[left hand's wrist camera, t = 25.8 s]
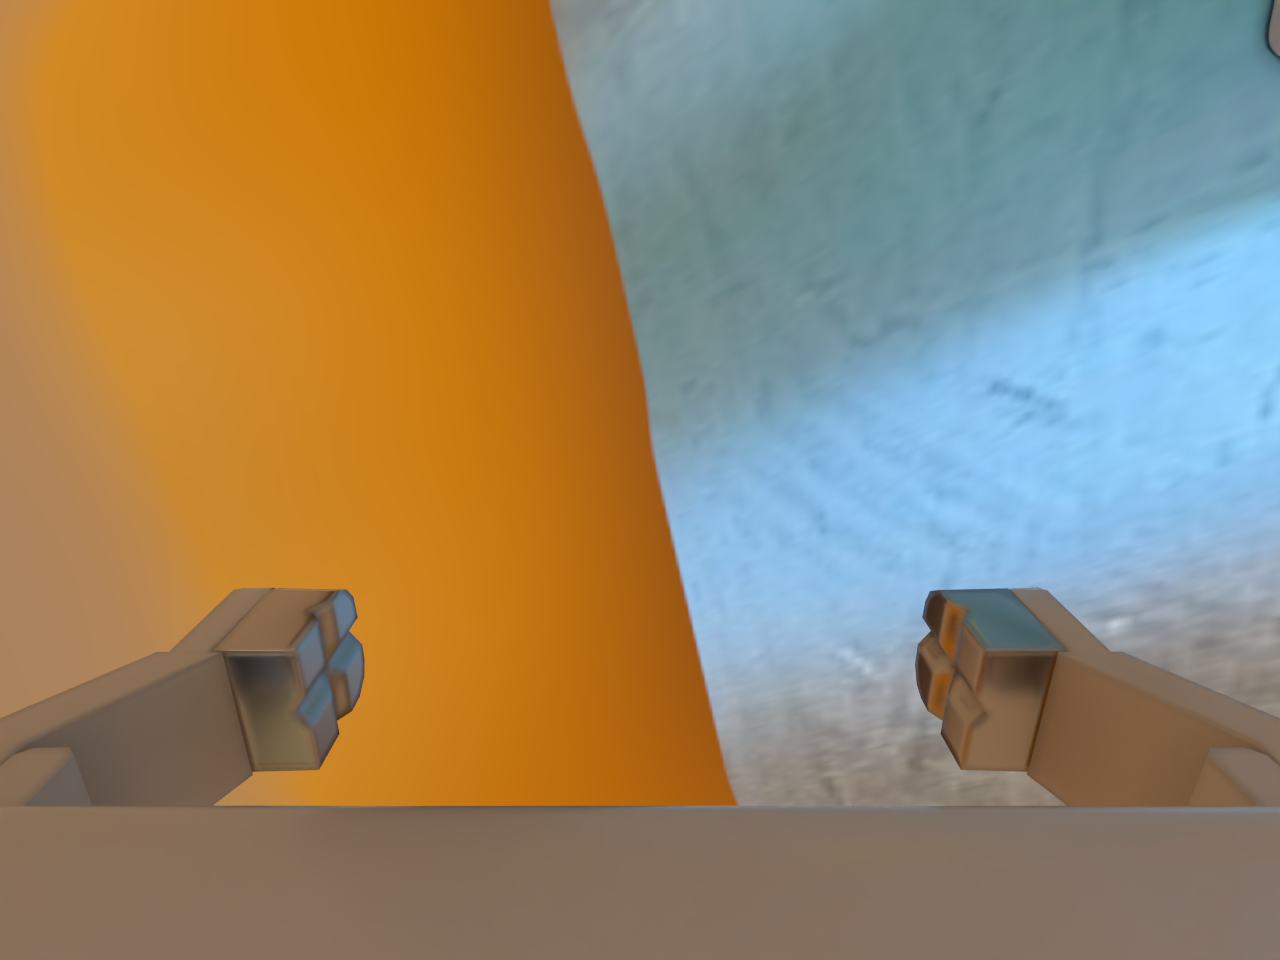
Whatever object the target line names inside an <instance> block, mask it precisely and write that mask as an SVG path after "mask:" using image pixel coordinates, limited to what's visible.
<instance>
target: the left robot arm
mask: <svg viewBox="0 0 1280 960" xmlns="http://www.w3.org/2000/svg"><path fill="white" fill-rule="evenodd" d="M1268 36H1269V43H1270V46H1271V48H1272V50H1273V51H1274V52H1275V53H1276V54H1277V55H1278V56H1279V57H1280V0H1275V1H1274V6H1273V11H1272V16H1271V21H1270V26H1269V34H1268ZM356 619H357V612H356V607H355V603H354V598H353V596H352V595H351V594H350V593H349V591H348V590H340V589H287V588H278V589H275V588H242V589H235V590H233V591H232V592H231V593H230V594H229V595H228V596H227V597H226V598H225V599H224V600H223V601H222V602H221V603H219V604H218V605H217V606H216V607H215V608H214V609H213V610H212V611H211V612H210V613H209V614H208V615H207V616H206V617H205V618H204V619H203V620H202V621H201V622H200V623H199V624H198V625H197V626H196V627H194V628H193V629H192V630H191V631H190V632H189V633H188V634H187V635H186V636H185V637H184V638H183V639H182V640H181V641H180V642H179V643H178V644H177V645H176V646H175V647H174V648H173V649H172V650H171V651H169V652H156V653H154V654H151V655H149V656H146V657H144V658H142V659H139V660H137V661H135V662H132V663H130V664H128V665H125V666H123V667H120V668H118V669H116V670H113V671H111V672H109V673H106V674H104V675H102V676H99V677H97V678H95V679H92V680H90V681H87V682H85V683H83V684H80V685H78V686H76V687H73V688H71V689H69V690H66V691H64V692H61V693H59V694H57V695H54V696H52V697H50V698H47V699H45V700H43V701H40V702H38V703H35V704H33V705H31V706H28V707H26V708H24V709H21V710H19V711H17V712H14V713H12V714H10V715H7V716H5V717H2V718H0V960H1280V718H1277V717H1275V716H1273V715H1270V714H1268V713H1265V712H1263V711H1261V710H1258V709H1256V708H1254V707H1251V706H1249V705H1247V704H1244V703H1242V702H1240V701H1237V700H1235V699H1232V698H1230V697H1228V696H1225V695H1223V694H1221V693H1218V692H1216V691H1214V690H1211V689H1209V688H1207V687H1204V686H1202V685H1199V684H1197V683H1195V682H1192V681H1190V680H1188V679H1185V678H1183V677H1181V676H1178V675H1176V674H1174V673H1171V672H1169V671H1166V670H1164V669H1162V668H1159V667H1157V666H1155V665H1152V664H1150V663H1148V662H1145V661H1143V660H1141V659H1138V658H1136V657H1134V656H1131V655H1129V654H1126V653H1124V652H1111V651H1110V650H1108V649H1107V648H1106V647H1105V646H1104V645H1103V644H1102V643H1101V642H1100V641H1099V640H1098V639H1097V638H1096V637H1095V636H1094V635H1093V634H1092V633H1091V632H1090V631H1089V630H1088V629H1087V628H1086V627H1085V626H1084V625H1083V624H1081V623H1080V622H1079V621H1078V620H1077V619H1076V618H1075V617H1074V616H1073V615H1072V614H1071V613H1070V612H1069V611H1068V610H1067V609H1066V608H1065V607H1064V606H1063V605H1062V604H1061V603H1060V602H1059V601H1058V600H1057V599H1056V598H1054V597H1053V596H1052V595H1051V594H1050V593H1049V592H1048V591H1047V590H1044V589H1041V588H1038V587H1036V588H1012V589H1008V588H1005V589H964V590H936V591H930V593H929V595H928V597H927V599H926V601H925V606H924V611H923V619H924V621H925V622H926V624H927V625H928V627H929V628H930V630H931V631H930V633H929V634H928V635H927V636H926V637H925V638H924V639H923V640H922V641H921V642H920V643H919V644H918V648H917V655H916V663H915V668H916V679H917V686H918V689H919V693H920V696H921V699H922V701H923V703H924V704H925V706H926V708H927V710H928V711H929V712H930V713H932V714H933V715H935V716H937V717H938V718H940V719H941V720H943V724H942V729H941V735H942V737H943V739H944V741H945V742H946V744H947V746H948V748H949V749H950V751H951V753H952V755H953V756H954V758H955V760H956V762H957V763H958V765H959V767H960V769H961V770H985V771H1021V772H1028V773H1027V775H1028V776H1030V777H1031V778H1032V779H1034V780H1035V781H1036V782H1038V783H1039V784H1040V785H1042V786H1043V787H1044V788H1045V789H1047V790H1048V791H1049V792H1051V793H1052V794H1053V795H1055V796H1056V797H1057V798H1059V799H1060V800H1061V801H1062V802H1064V803H1065V804H1066V805H1068V806H213V805H214V804H215V803H216V802H218V801H219V800H220V799H222V798H223V797H224V796H225V795H227V794H228V793H230V792H231V791H232V790H234V789H235V788H236V787H237V786H239V785H240V784H241V783H243V782H244V781H245V780H247V779H248V778H249V777H251V776H252V772H257V771H294V770H319V769H320V767H321V765H322V764H323V762H324V760H325V758H326V756H327V755H328V753H329V751H330V749H331V748H332V746H333V744H334V742H335V741H336V739H337V737H338V735H339V729H338V724H337V720H339V719H340V718H342V717H343V716H345V715H347V714H348V713H350V712H351V711H352V710H353V708H354V706H355V704H356V702H357V700H358V698H359V697H360V693H361V688H362V684H363V680H364V654H363V647H362V644H361V643H360V642H359V641H358V640H357V639H356V638H355V637H354V636H353V635H352V634H351V633H350V631H349V630H350V628H351V627H352V625H353V624H354V622H355V620H356Z"/></svg>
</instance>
